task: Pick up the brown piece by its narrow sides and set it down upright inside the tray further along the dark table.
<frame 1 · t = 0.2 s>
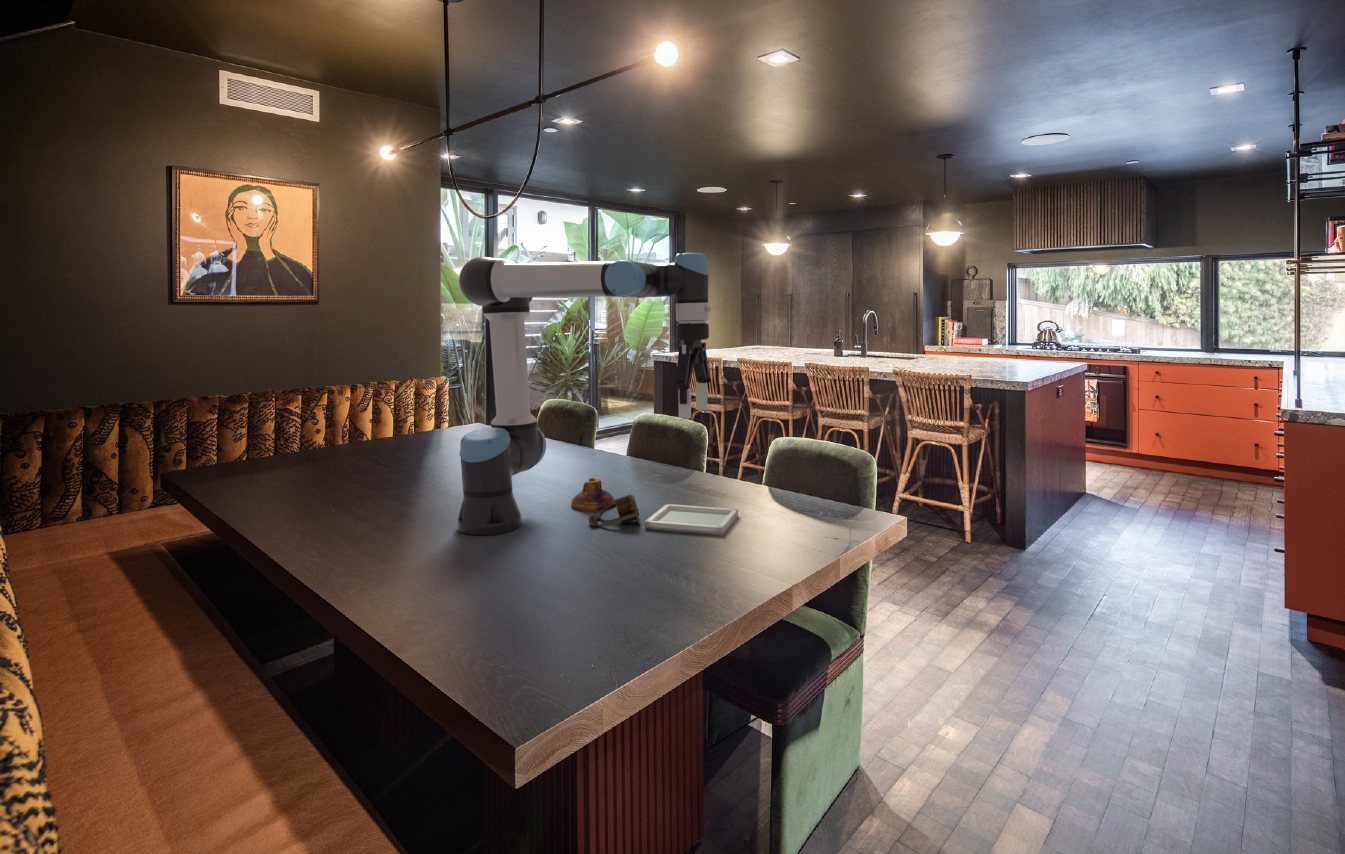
hand: (693, 413, 167), 27 cm above the table, fingers open, 13 cm apart
brown piece: (616, 523, 176), on the table
bell: (593, 506, 192), on the table
tray: (692, 522, 175), on the table
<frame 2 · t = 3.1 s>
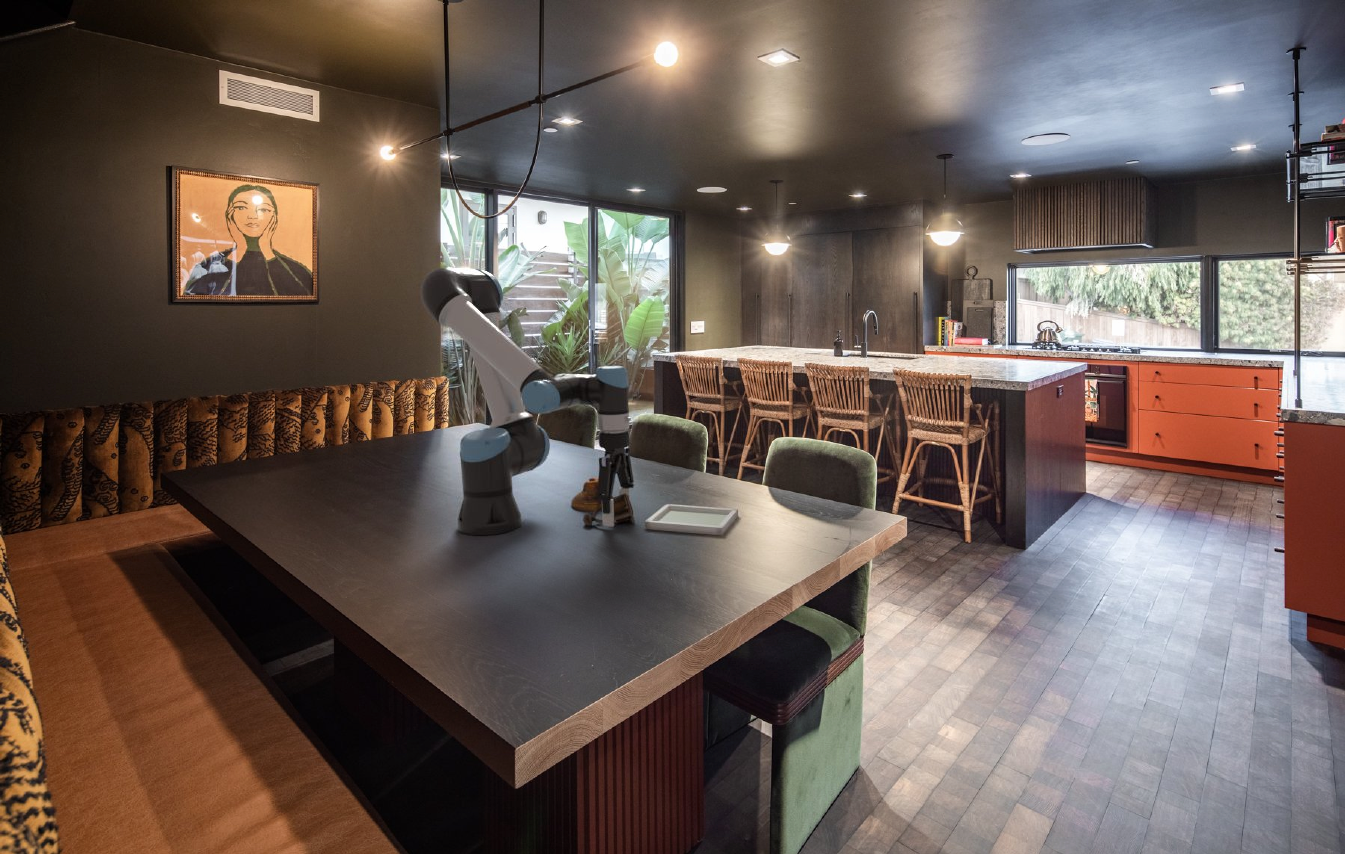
hand: (617, 519, 175), 1 cm above the table, fingers closed on brown piece, 10 cm apart
brown piece: (610, 523, 176), on the table, touching gripper
everything else where it was.
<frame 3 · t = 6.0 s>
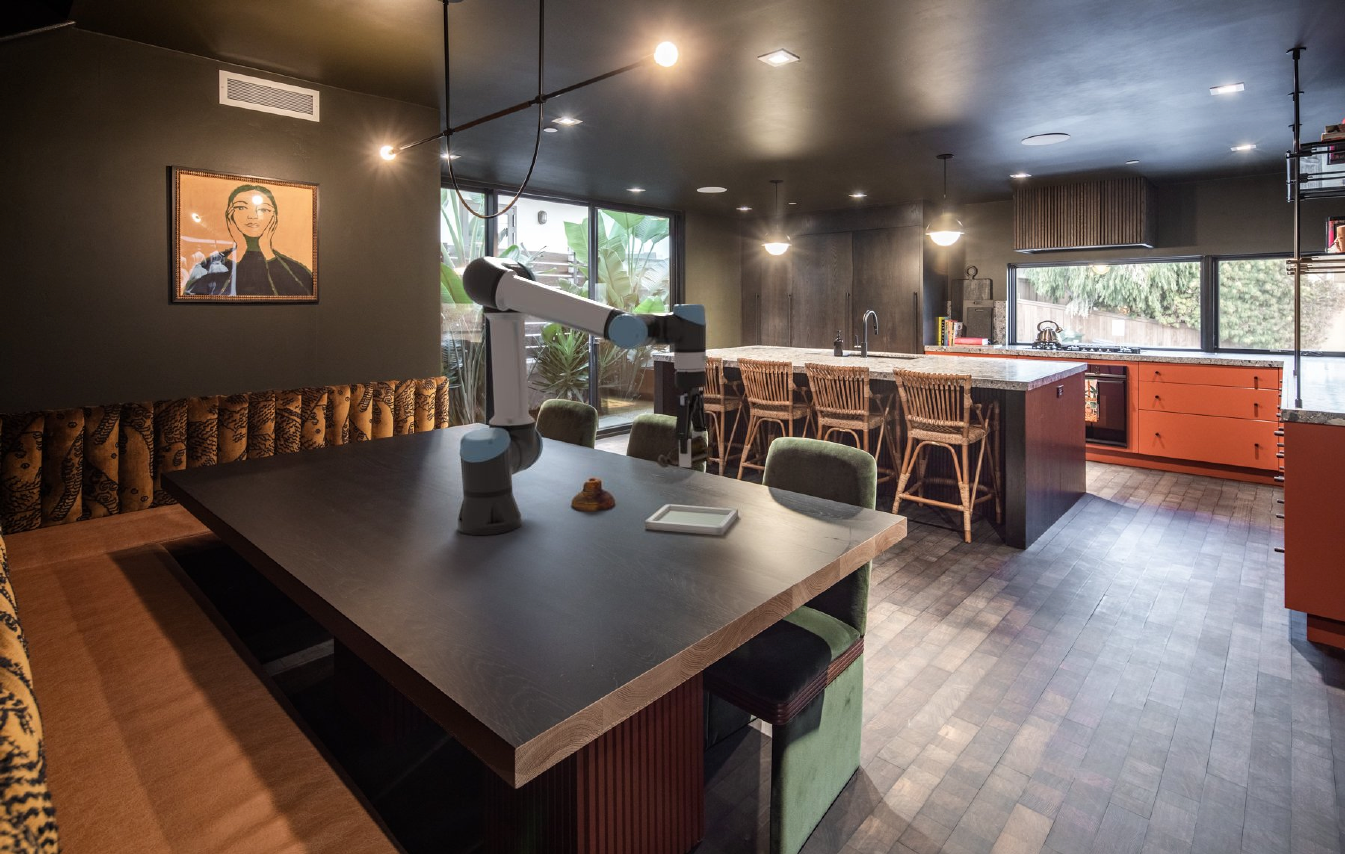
hand: (691, 462, 172), 15 cm above the table, fingers closed on brown piece, 10 cm apart
brown piece: (684, 465, 172), point 14 cm above the table, touching gripper
everything else where it was.
when the fingers open (3 cm above the table, at t = 8.7 s): brown piece drops 1 cm, resting on tray.
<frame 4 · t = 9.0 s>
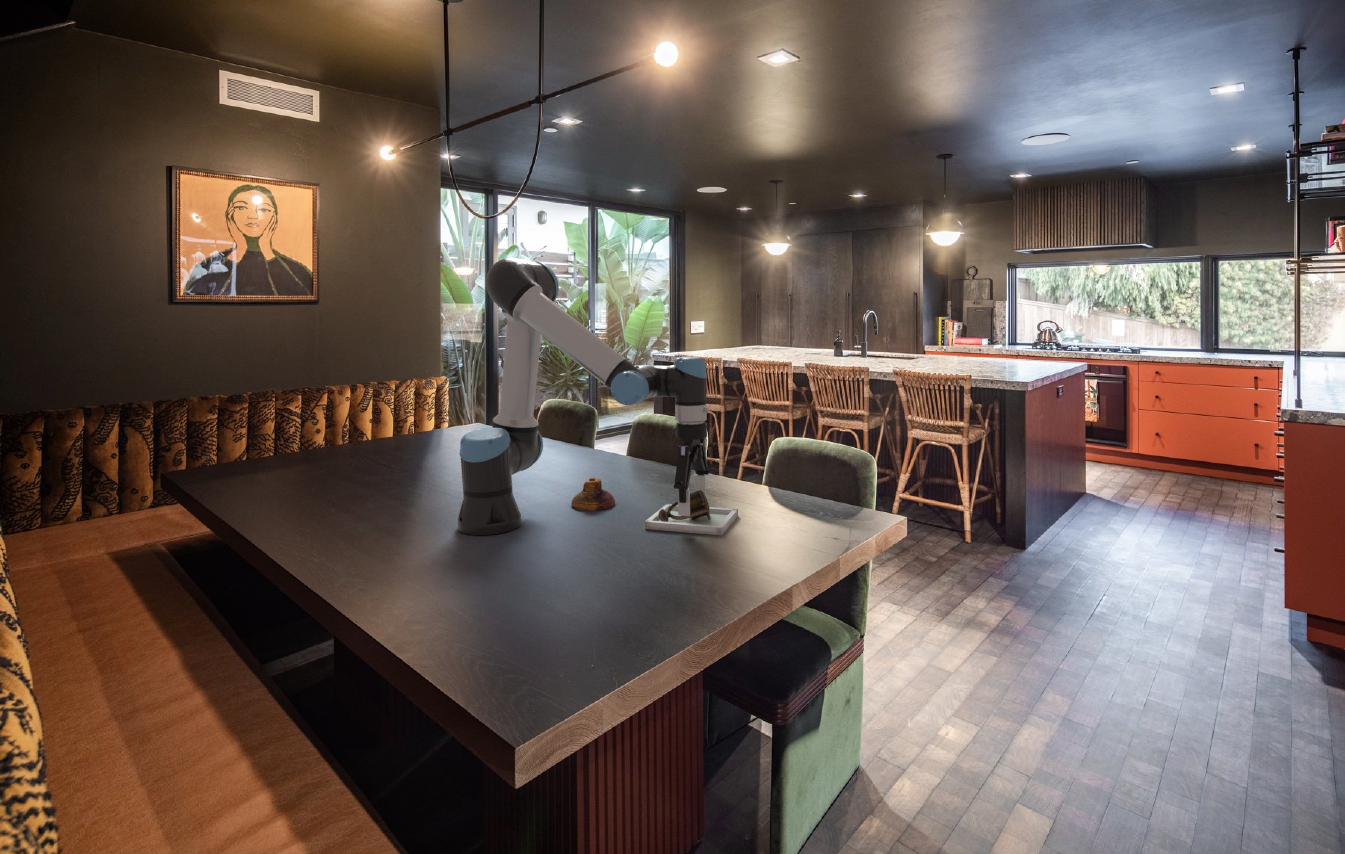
hand: (692, 507, 174), 4 cm above the table, fingers open, 13 cm apart
brown piece: (685, 519, 175), point 1 cm above the table, touching tray
everything else where it was.
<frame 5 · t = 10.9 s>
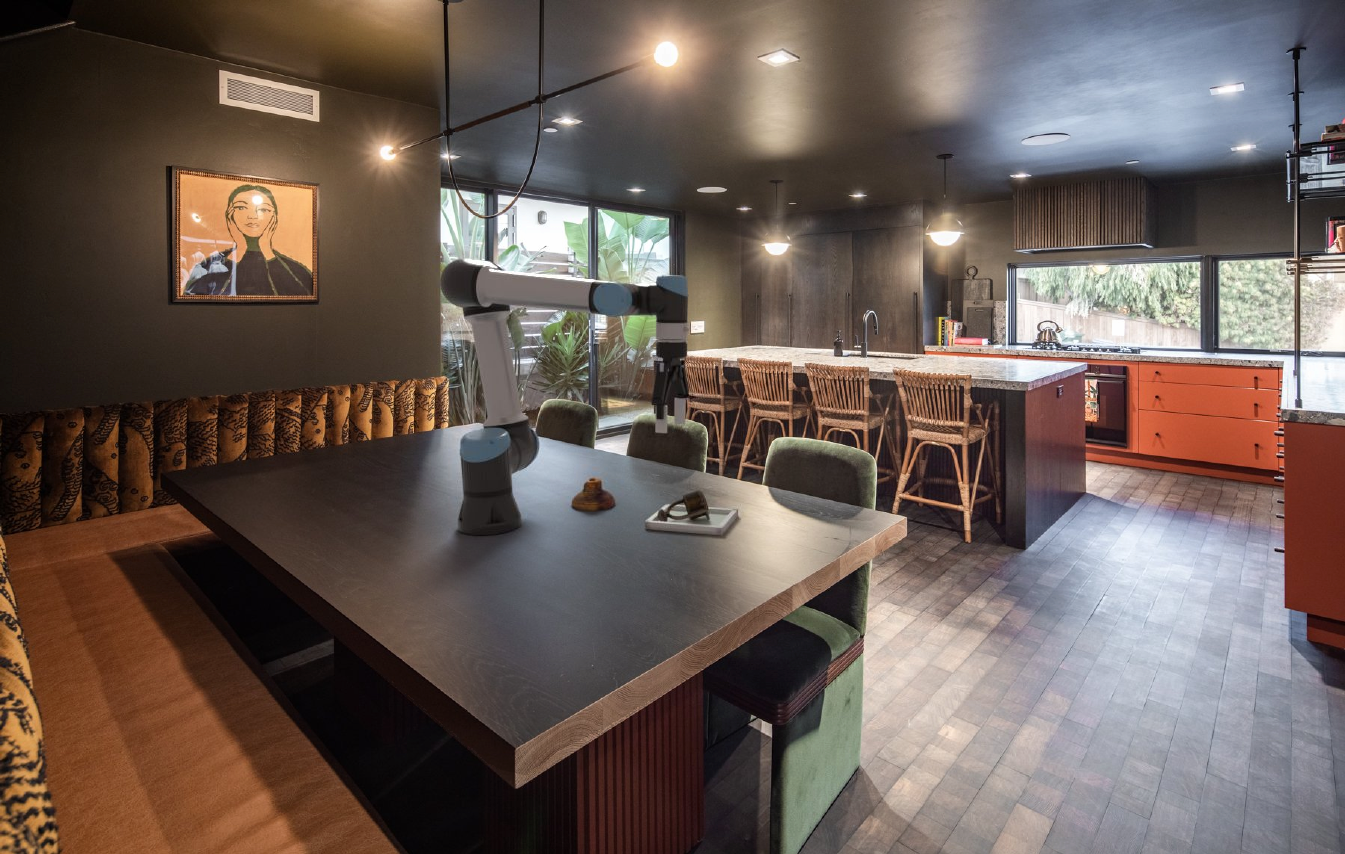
hand: (670, 428, 174), 23 cm above the table, fingers open, 13 cm apart
nothing on the table moved.
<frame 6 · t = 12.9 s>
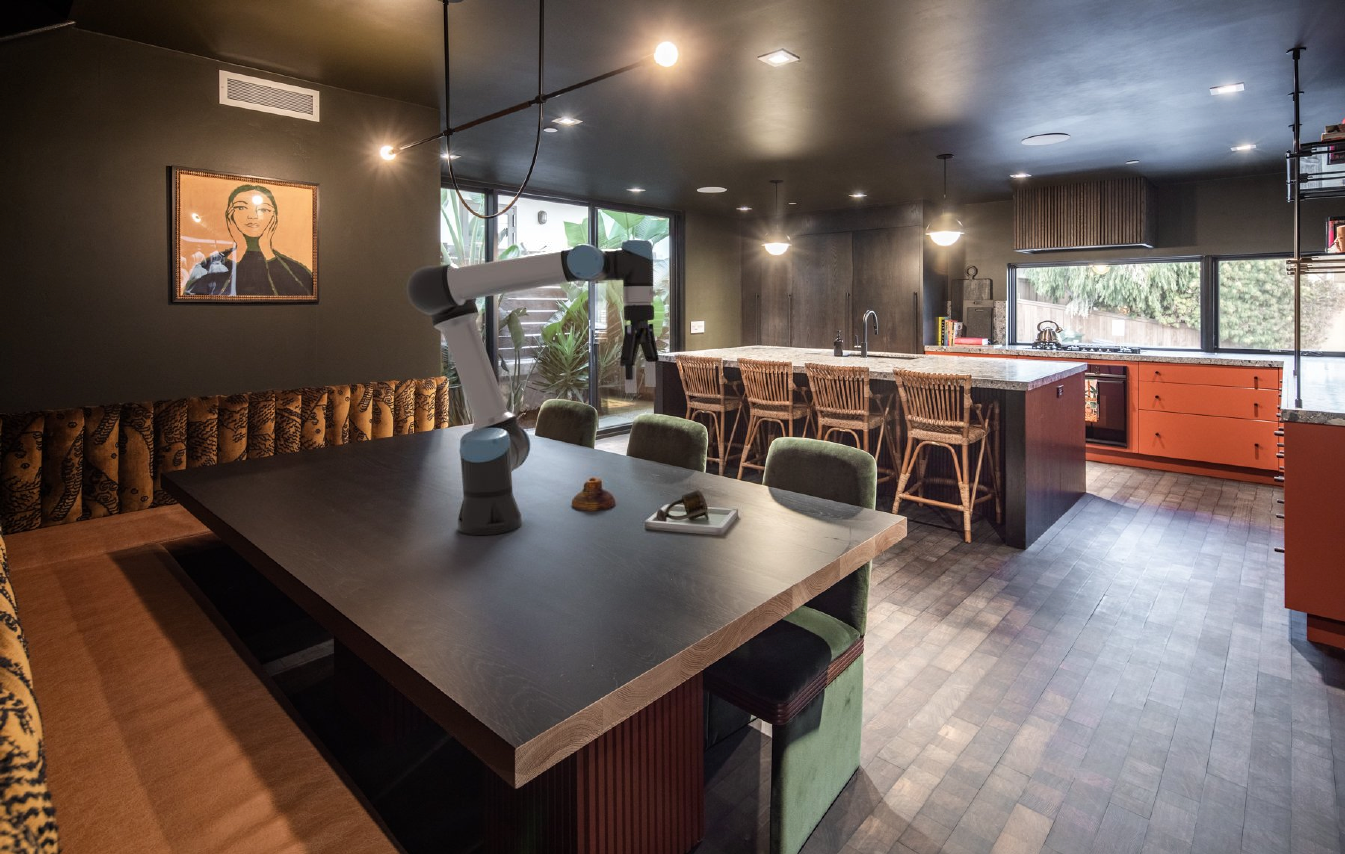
hand: (641, 389, 180), 32 cm above the table, fingers open, 13 cm apart
nothing on the table moved.
at the end: brown piece inside the target area on the tray (2.3 cm from its centre), point 0.6 cm above the tray's base; brown piece tilted 0°; the gripper is holding nothing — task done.
